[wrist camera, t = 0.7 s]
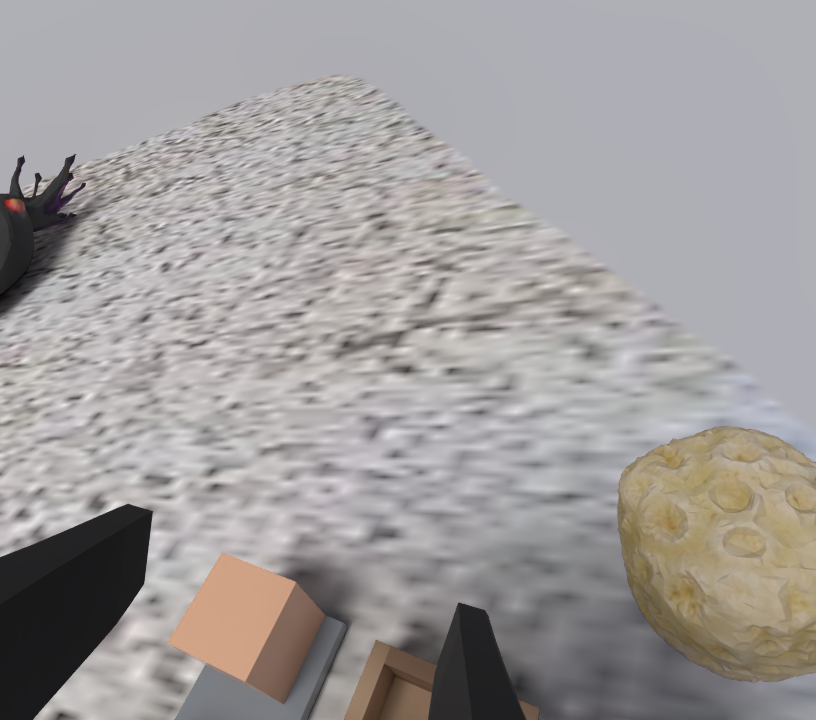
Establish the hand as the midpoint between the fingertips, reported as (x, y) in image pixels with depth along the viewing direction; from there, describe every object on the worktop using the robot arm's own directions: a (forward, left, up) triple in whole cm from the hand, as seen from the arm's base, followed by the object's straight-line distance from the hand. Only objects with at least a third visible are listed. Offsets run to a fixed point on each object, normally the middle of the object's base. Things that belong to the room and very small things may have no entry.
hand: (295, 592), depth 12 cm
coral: (+10, -11, -16) cm, 22 cm away
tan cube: (0, +7, -15) cm, 17 cm away
